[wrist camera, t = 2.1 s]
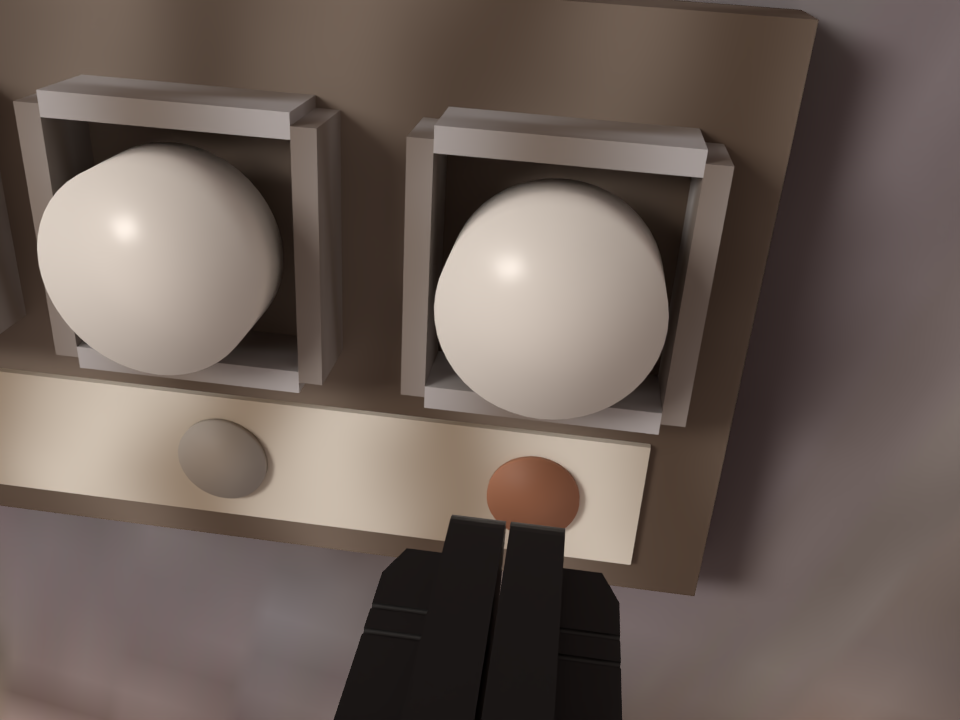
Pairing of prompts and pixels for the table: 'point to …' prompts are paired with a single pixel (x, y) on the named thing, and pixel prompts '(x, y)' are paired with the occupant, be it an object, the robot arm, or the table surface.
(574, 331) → the button
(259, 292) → the middle button
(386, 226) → the button board
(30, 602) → the table surface
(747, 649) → the table surface
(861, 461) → the table surface
